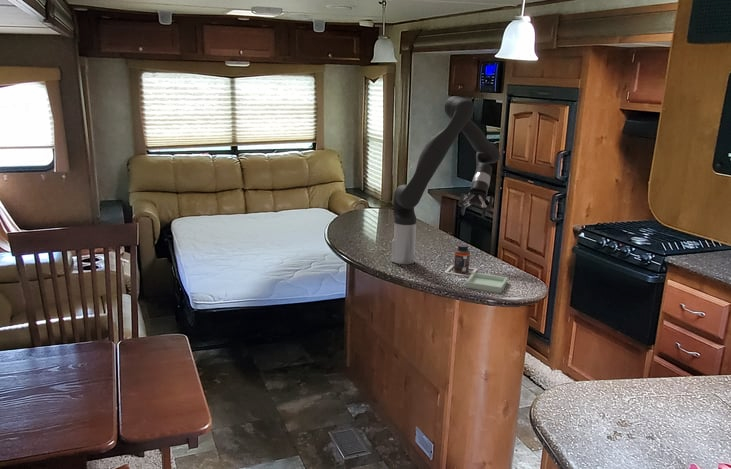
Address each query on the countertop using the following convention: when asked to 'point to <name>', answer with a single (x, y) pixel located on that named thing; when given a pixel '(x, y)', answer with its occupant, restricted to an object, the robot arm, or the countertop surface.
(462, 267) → the supplement bottle
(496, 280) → the tray
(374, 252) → the countertop surface
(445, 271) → the mat frame
